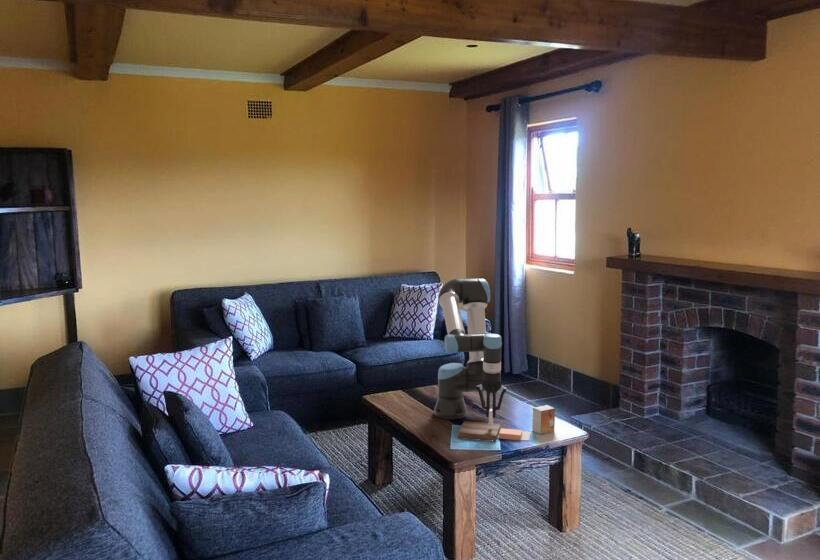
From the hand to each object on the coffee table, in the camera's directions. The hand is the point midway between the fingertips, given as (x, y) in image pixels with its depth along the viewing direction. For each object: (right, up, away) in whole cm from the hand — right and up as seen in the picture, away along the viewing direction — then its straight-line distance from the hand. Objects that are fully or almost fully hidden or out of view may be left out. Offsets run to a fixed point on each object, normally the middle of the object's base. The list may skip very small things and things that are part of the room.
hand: (490, 424), depth 282 cm
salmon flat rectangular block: (+8, -4, -2) cm, 9 cm away
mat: (+10, -4, -1) cm, 11 cm away
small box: (+23, -4, +4) cm, 24 cm away
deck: (-5, -4, +1) cm, 6 cm away
